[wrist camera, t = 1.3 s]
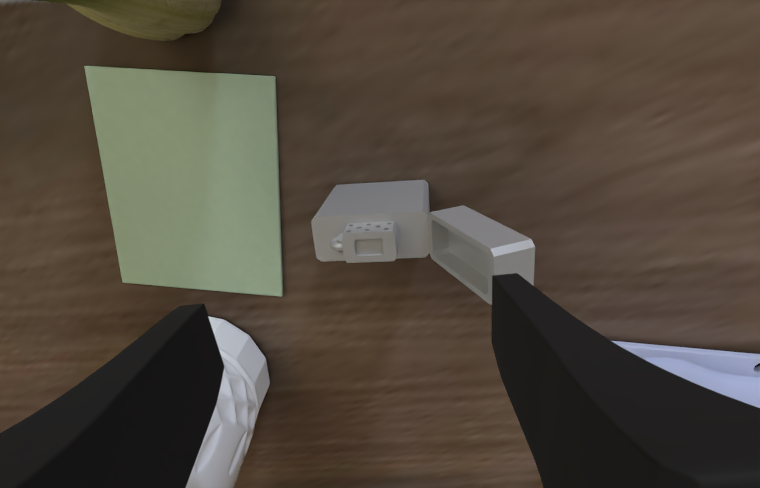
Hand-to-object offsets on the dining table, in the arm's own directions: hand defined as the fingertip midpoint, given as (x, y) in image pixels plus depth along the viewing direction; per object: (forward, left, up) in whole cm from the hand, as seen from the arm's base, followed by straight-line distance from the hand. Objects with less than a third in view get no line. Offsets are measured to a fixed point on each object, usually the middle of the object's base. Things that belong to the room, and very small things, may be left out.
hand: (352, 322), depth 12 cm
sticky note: (+9, 0, -10) cm, 13 cm away
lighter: (-1, 0, -10) cm, 10 cm away
